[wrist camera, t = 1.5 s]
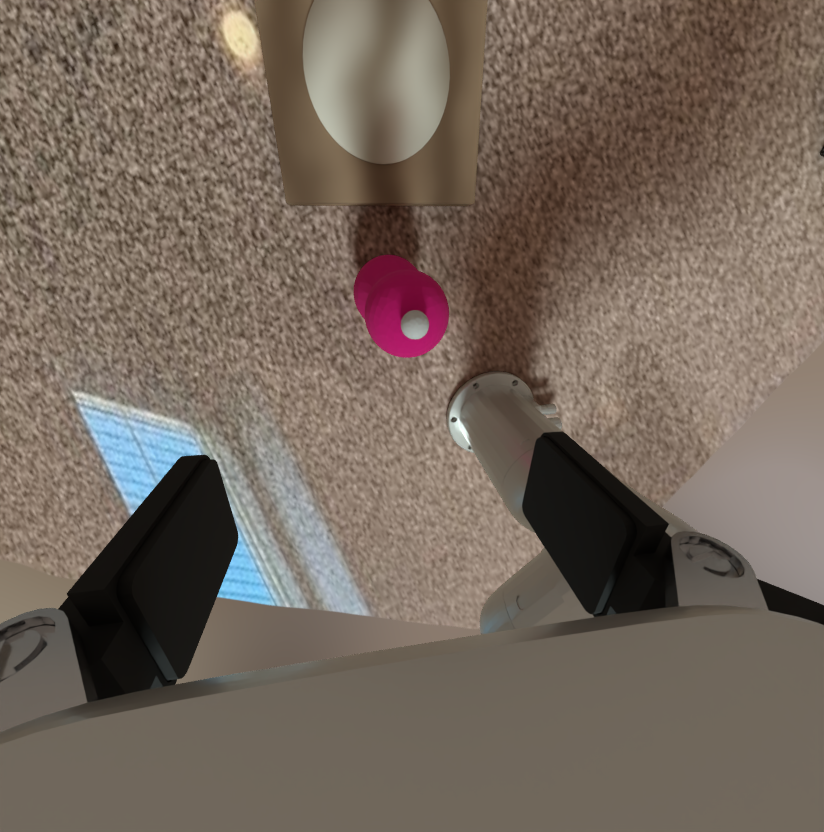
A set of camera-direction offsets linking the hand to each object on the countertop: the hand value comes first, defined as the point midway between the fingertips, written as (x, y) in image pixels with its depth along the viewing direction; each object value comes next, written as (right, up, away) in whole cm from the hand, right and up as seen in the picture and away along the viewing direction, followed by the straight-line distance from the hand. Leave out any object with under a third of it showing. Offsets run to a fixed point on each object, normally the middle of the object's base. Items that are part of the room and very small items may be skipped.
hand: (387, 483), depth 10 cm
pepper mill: (-2, +17, +28) cm, 32 cm away
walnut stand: (-2, +31, +20) cm, 37 cm away
